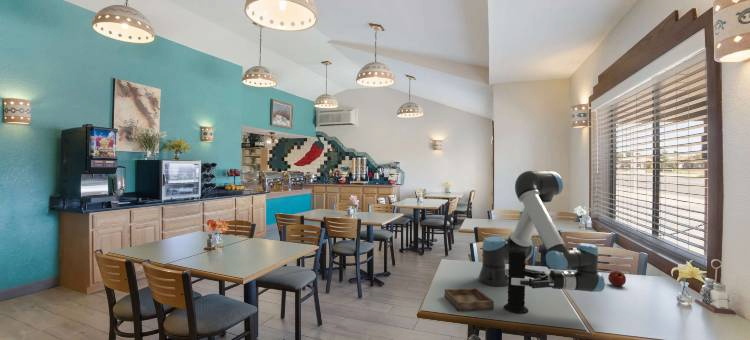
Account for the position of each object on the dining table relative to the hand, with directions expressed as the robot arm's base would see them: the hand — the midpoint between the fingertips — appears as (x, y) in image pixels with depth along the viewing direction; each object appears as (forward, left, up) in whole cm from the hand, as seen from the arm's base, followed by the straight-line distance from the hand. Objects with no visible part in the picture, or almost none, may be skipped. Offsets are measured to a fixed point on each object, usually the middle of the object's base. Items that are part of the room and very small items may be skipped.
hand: (508, 276), depth 149 cm
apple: (-73, -19, -14) cm, 77 cm away
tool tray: (+15, -8, -14) cm, 22 cm away
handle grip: (-3, +1, -14) cm, 15 cm away
